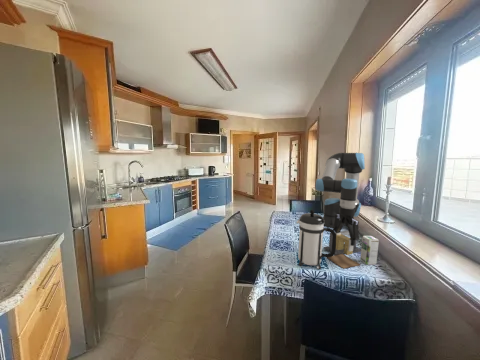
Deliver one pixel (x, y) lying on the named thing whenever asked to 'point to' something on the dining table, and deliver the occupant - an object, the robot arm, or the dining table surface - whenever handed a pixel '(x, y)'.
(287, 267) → the dining table surface
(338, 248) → the c link
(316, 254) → the coffee press
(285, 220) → the dining table surface
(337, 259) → the coaster
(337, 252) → the stand
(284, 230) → the dining table surface
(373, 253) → the syrup box
